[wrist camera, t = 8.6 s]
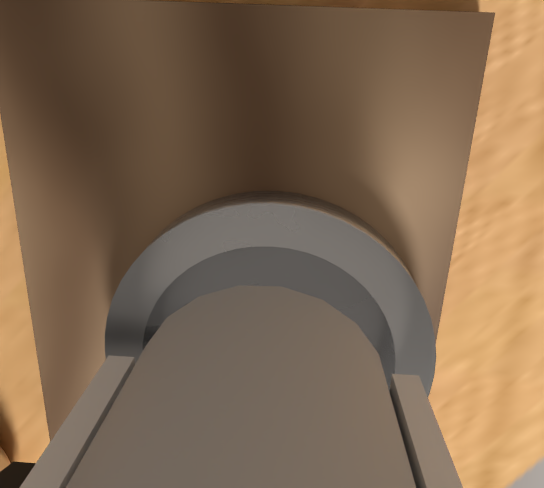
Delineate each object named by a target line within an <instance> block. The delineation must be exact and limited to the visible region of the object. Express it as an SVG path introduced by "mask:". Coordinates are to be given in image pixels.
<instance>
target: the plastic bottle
mask: <svg viewBox="0 0 544 488" xmlns="http://www.w3.org/2000/svg"><path fill="white" fill-rule="evenodd" d="M9 464H11V463H10V461H9V459H8V457H7V455H6V453H5V452H4V451H3V449H2V448H1V447H0V471H2V470H3V469H4V468H6V467H7V466H8V465H9Z"/></svg>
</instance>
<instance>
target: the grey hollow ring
mask: <svg viewBox="0 0 544 488" xmlns="http://www.w3.org/2000/svg"><path fill="white" fill-rule="evenodd" d="M239 285H242V286H280V287H285V288H288V289H291V290H294V291H297V292H300V293H303V294H306V295H310V296H313V297H316V298H319V299H322V300H324V301H325V302H327V303H328V304H329V305H331V306H332V307H334V308H335V309H337V310H338V311H339V312H341V313H342V314H344V315H345V316H347V317H348V318H349V319H351V320H352V321H354V322H355V323H356V324H357V325H358V326H359V328H360V329H361V330H362V332H363V333H364V335H365V336H366V337H367V339H368V340H369V341H370V343H371V344H372V345H373V347H374V348H375V349H376V351H377V352H378V354H379V357H380V360H381V364H382V367H383V371H384V374H385V378H386V382H387V385H388V389H389V391H390V384H391V377H392V374H403V375H419V377H420V379H421V382H422V384H423V387H424V390H425V392H426V395H427V397H428V396H429V393H430V389H431V386H432V382H433V378H434V372H435V362H436V345H435V335H434V330H433V325H432V320H431V317H430V314H429V311H428V309H427V306H426V303H425V301H424V298H423V297H422V295H421V293H420V291H419V289H418V287H417V286H416V284H415V282H414V280H413V278H412V276H411V275H410V273H409V271H408V269H407V267H406V266H405V264H404V262H403V260H402V259H401V257H400V256H399V255H398V253H397V252H396V251H395V250H394V248H393V247H392V246H391V244H390V243H389V242H388V241H387V240H386V239H385V238H384V237H383V236H382V235H381V234H380V233H379V232H378V231H377V230H376V229H374V228H373V227H372V226H370V225H369V224H368V223H366V222H365V221H364V220H362V219H361V218H360V217H358V216H356V215H354V214H353V213H351V212H349V211H347V210H345V209H344V208H342V207H340V206H337V205H335V204H332V203H330V202H327V201H325V200H322V199H320V198H315V197H311V196H307V195H303V194H299V193H292V192H283V191H252V192H245V193H238V194H232V195H229V196H225V197H222V198H218V199H214V200H212V201H209V202H207V203H205V204H202V205H200V206H198V207H195V208H193V209H192V210H190V211H189V212H187V213H185V214H184V215H182V216H180V217H179V218H177V219H176V220H175V221H173V222H172V223H171V224H170V225H168V226H167V227H166V228H165V229H164V230H162V231H161V232H160V233H159V235H158V236H157V237H156V238H155V239H154V240H153V241H152V242H151V243H150V244H149V245H148V247H147V248H146V249H145V250H144V251H143V252H142V253H141V255H140V256H139V257H138V258H137V259H136V260H135V261H134V263H133V264H132V265H131V266H130V268H129V269H128V271H127V272H126V274H125V275H124V277H123V278H122V280H121V282H120V284H119V286H118V288H117V290H116V292H115V294H114V296H113V299H112V302H111V305H110V309H109V312H108V315H107V321H106V329H105V357H106V359H107V357H108V356H109V355H110V356H125V357H134V358H135V364H136V362H137V360H138V359H139V357H140V355H141V353H142V352H143V350H144V348H145V346H146V345H147V343H148V342H149V341H150V339H151V338H152V337H153V335H154V334H155V333H156V331H157V330H158V329H159V327H160V326H161V325H162V323H163V322H164V321H165V319H166V318H167V317H168V316H170V315H171V314H173V313H174V312H176V311H177V310H179V309H180V308H182V307H184V306H185V305H187V304H188V303H190V302H191V301H193V300H194V299H196V298H197V297H199V296H202V295H206V294H209V293H213V292H217V291H220V290H224V289H228V288H231V287H235V286H239Z"/></svg>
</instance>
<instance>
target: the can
mask: <svg viewBox="0 0 544 488" xmlns="http://www.w3.org/2000/svg"><path fill="white" fill-rule="evenodd" d="M66 488H416V485H415V481H414V478H413V474H412V471H411V467H410V463H409V460H408V456H407V453H406V449H405V446H404V442H403V438H402V435H401V431H400V428H399V424H398V421H397V417H396V414H395V410H394V406H393V403H392V399H391V396H390V392H389V389H388V385H387V382H386V378H385V374H384V371H383V367H382V364H381V360H380V357H379V354H378V352H377V351H376V349H375V348H374V347H373V345H372V344H371V343H370V341H369V340H368V339H367V337H366V336H365V335H364V333H363V332H362V330H361V329H360V328H359V326H358V325H357V324H356V323H355V322H354V321H352V320H351V319H349V318H348V317H347V316H345V315H344V314H342V313H341V312H339V311H338V310H337V309H335V308H334V307H332V306H331V305H329V304H328V303H327V302H325V301H324V300H322V299H319V298H316V297H313V296H310V295H306V294H303V293H300V292H297V291H294V290H291V289H288V288H285V287H280V286H242V285H239V286H235V287H231V288H228V289H224V290H220V291H217V292H213V293H209V294H206V295H202V296H199V297H197V298H196V299H194V300H193V301H191V302H190V303H188V304H187V305H185V306H184V307H182V308H180V309H179V310H177V311H176V312H174V313H173V314H171V315H170V316H168V317H167V318H166V319H165V321H164V322H163V323H162V325H161V326H160V327H159V329H158V330H157V331H156V333H155V334H154V335H153V337H152V338H151V339H150V341H149V342H148V343H147V345H146V346H145V348H144V350H143V352H142V353H141V355H140V357H139V359H138V360H137V362H136V364H135V366H134V368H133V369H132V371H131V373H130V375H129V376H128V378H127V380H126V382H125V384H124V385H123V387H122V389H121V391H120V392H119V394H118V396H117V398H116V400H115V401H114V403H113V405H112V407H111V408H110V410H109V412H108V414H107V415H106V417H105V419H104V421H103V423H102V424H101V426H100V428H99V430H98V431H97V433H96V435H95V437H94V439H93V440H92V442H91V444H90V446H89V447H88V449H87V451H86V453H85V455H84V456H83V458H82V460H81V462H80V463H79V465H78V467H77V469H76V471H75V472H74V474H73V476H72V478H71V479H70V481H69V483H68V485H67V487H66Z"/></svg>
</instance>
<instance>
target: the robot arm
mask: <svg viewBox="0 0 544 488" xmlns="http://www.w3.org/2000/svg"><path fill="white" fill-rule="evenodd" d="M134 366H135V358H134V357H125V356H110V355H109V356H108V357H107V359H106V360H105V362H104V363H103V365H102V366H101V368H100V369H99V371H98V372H97V374H96V375H95V376H94V378H93V379H92V381H91V382H90V384H89V385H88V387H87V388H86V390H85V391H84V393H83V394H82V396H81V397H80V399H79V400H78V402H77V403H76V405H75V406H74V408H73V409H72V411H71V412H70V414H69V415H68V417H67V418H66V420H65V421H64V422H63V424H62V425H61V427H60V428H59V430H58V431H57V433H56V434H55V436H54V437H53V439H52V440H51V442H50V443H49V445H48V446H47V448H46V449H45V451H44V452H43V454H42V455H41V457H40V458H39V460H38V461H37V463H24V462H12V463H11V464H9V465H8V466H7V467H6V468H4V469H3V470H2V471H0V488H66V487H67V485H68V483H69V481H70V479H71V478H72V476H73V474H74V472H75V471H76V469H77V467H78V465H79V463H80V462H81V460H82V458H83V456H84V455H85V453H86V451H87V449H88V447H89V446H90V444H91V442H92V440H93V439H94V437H95V435H96V433H97V431H98V430H99V428H100V426H101V424H102V423H103V421H104V419H105V417H106V415H107V414H108V412H109V410H110V408H111V407H112V405H113V403H114V401H115V400H116V398H117V396H118V394H119V392H120V391H121V389H122V387H123V385H124V384H125V382H126V380H127V378H128V376H129V375H130V373H131V371H132V369H133V368H134ZM389 392H390V396H391V399H392V403H393V406H394V410H395V414H396V417H397V421H398V424H399V428H400V431H401V435H402V438H403V442H404V446H405V449H406V453H407V456H408V460H409V463H410V467H411V471H412V474H413V478H414V481H415V485H416V488H463V486H462V484H461V481H460V479H459V476H458V474H457V471H456V469H455V466H454V464H453V461H452V458H451V456H450V453H449V451H448V448H447V446H446V443H445V441H444V438H443V435H442V433H441V430H440V428H439V425H438V423H437V420H436V418H435V415H434V412H433V410H432V407H431V405H430V402H429V400H428V397H427V395H426V392H425V390H424V387H423V384H422V382H421V379H420V377H419V375H403V374H392V377H391V384H390V391H389Z"/></svg>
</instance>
